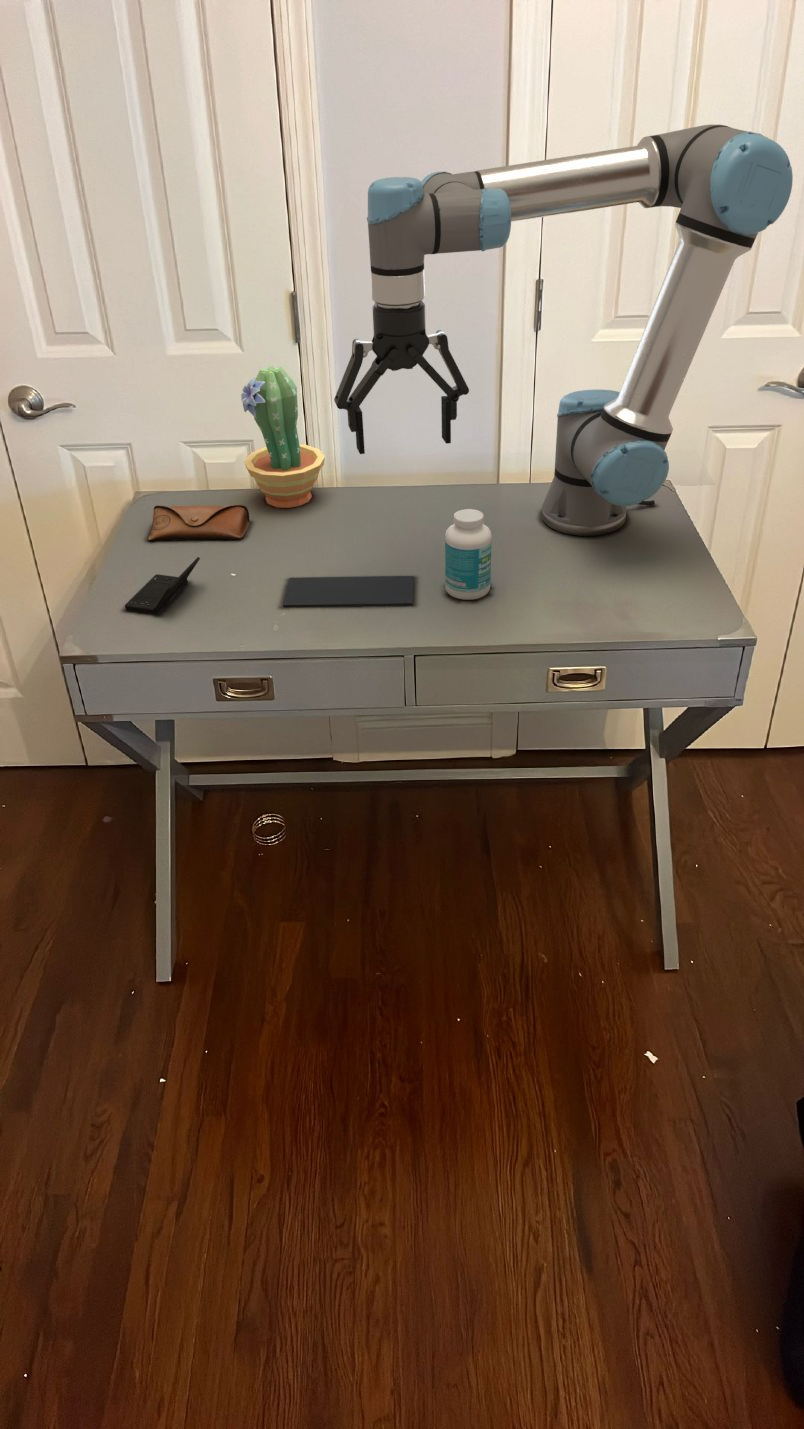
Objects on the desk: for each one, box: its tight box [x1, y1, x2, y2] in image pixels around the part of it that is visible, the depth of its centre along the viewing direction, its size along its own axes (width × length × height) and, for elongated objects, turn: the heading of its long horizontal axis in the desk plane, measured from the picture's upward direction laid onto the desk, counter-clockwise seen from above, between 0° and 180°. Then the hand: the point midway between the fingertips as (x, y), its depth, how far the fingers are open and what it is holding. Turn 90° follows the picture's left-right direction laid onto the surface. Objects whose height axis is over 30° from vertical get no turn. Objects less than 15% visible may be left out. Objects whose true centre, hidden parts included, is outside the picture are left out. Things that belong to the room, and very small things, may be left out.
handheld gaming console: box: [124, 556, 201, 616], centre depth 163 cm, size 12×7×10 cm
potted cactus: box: [240, 365, 326, 509], centre depth 187 cm, size 15×15×25 cm
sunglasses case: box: [147, 504, 251, 541], centre depth 183 cm, size 18×7×7 cm, turn 89°
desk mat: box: [282, 575, 415, 608], centre depth 164 cm, size 21×9×1 cm, turn 88°
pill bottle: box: [444, 508, 493, 601], centre depth 160 cm, size 8×7×14 cm
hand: (403, 445), depth 154 cm, fingers open, 13 cm apart
